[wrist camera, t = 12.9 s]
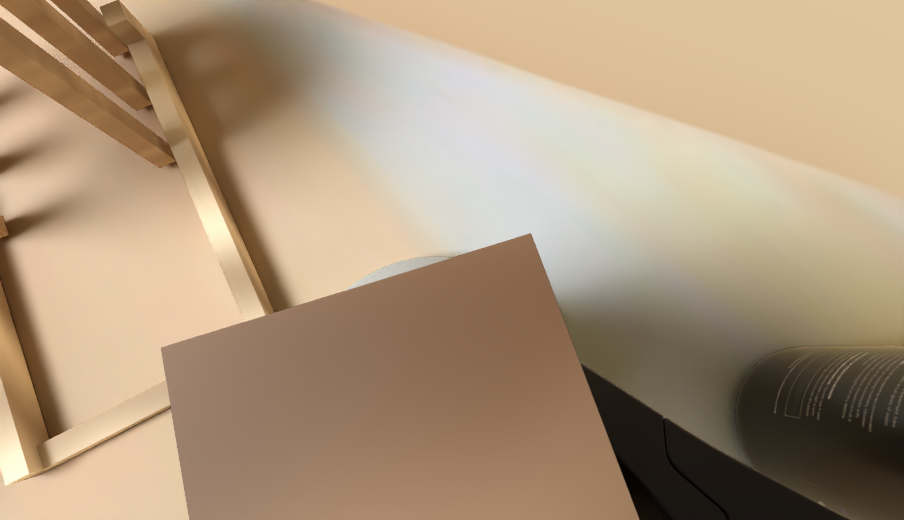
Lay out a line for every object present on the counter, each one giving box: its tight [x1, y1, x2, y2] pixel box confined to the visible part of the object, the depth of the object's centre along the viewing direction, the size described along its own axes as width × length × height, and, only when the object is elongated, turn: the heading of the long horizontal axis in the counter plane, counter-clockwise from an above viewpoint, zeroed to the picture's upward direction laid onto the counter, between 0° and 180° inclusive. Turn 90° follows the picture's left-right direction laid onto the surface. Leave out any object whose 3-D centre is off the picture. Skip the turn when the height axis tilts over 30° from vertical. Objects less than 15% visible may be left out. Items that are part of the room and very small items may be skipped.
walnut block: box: [161, 233, 639, 520], centre depth 10 cm, size 5×5×11 cm
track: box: [0, 0, 274, 485], centre depth 18 cm, size 18×11×2 cm, turn 28°
